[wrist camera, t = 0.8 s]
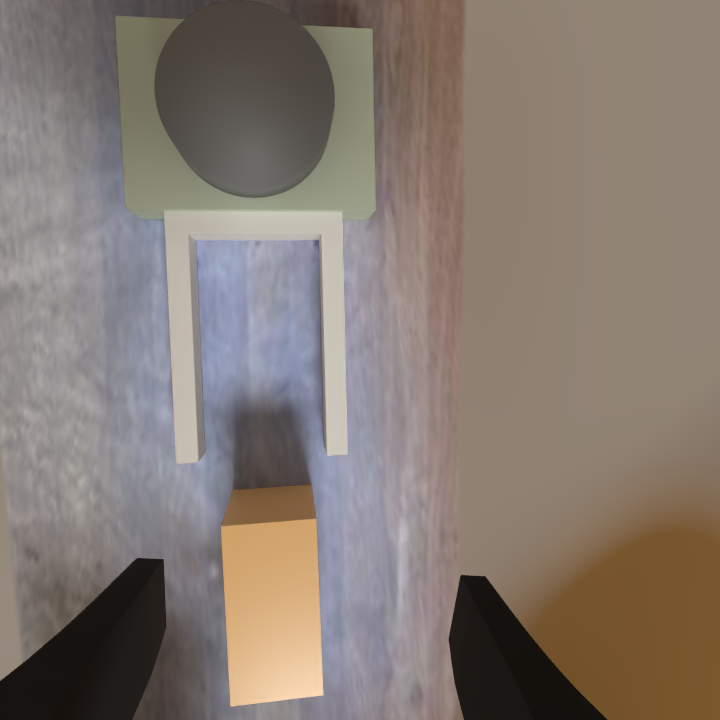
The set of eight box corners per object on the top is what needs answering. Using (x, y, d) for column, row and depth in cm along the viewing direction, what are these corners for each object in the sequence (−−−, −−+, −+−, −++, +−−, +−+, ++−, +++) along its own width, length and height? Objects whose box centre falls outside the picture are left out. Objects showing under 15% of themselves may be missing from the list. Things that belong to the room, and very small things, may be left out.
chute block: (317, 629, 28) (323, 695, 23) (240, 638, 28) (230, 706, 23) (311, 483, 28) (316, 518, 23) (233, 489, 27) (220, 526, 22)
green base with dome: (372, 443, 28) (389, 470, 23) (153, 454, 26) (122, 485, 22) (364, 55, 26) (382, -5, 21) (132, 45, 25) (93, -23, 20)
